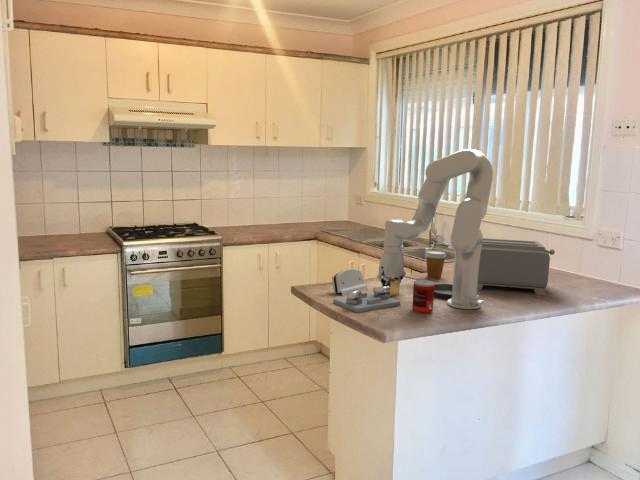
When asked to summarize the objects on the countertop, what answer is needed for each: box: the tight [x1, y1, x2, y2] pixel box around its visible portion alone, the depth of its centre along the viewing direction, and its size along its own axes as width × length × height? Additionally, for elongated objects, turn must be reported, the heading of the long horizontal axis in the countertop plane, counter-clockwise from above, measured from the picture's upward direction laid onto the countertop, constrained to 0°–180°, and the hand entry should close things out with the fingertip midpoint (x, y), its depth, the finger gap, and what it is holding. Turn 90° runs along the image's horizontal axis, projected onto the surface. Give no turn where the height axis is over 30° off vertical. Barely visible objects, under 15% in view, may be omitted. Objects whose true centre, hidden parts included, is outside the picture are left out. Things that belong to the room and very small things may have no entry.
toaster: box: [477, 237, 555, 296], centre depth 251 cm, size 19×35×20 cm, turn 79°
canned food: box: [411, 279, 436, 315], centre depth 211 cm, size 8×8×11 cm
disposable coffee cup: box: [425, 250, 447, 280], centre depth 266 cm, size 10×10×12 cm
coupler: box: [381, 277, 401, 297], centre depth 234 cm, size 5×5×7 cm
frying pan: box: [403, 275, 453, 300], centre depth 241 cm, size 18×32×4 cm, turn 46°
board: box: [332, 292, 402, 313], centre depth 218 cm, size 21×15×3 cm
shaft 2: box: [372, 286, 390, 300], centre depth 222 cm, size 6×4×6 cm
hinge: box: [331, 269, 369, 297], centre depth 237 cm, size 17×5×10 cm, turn 136°
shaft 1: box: [346, 290, 363, 305], centre depth 213 cm, size 6×4×6 cm
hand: (390, 292), depth 234 cm, fingers open, 5 cm apart
